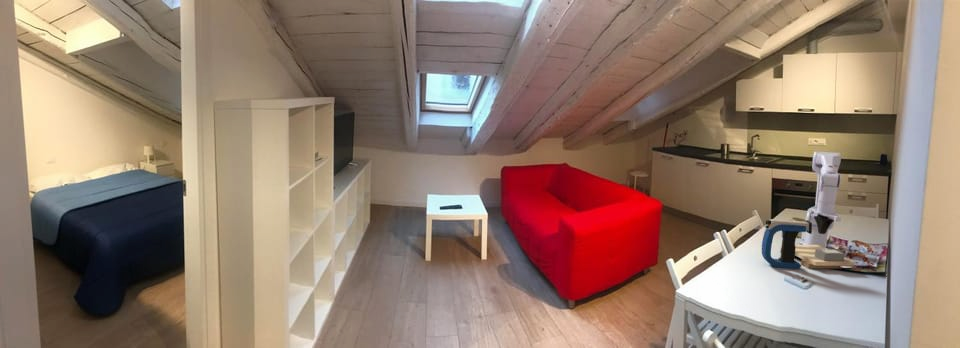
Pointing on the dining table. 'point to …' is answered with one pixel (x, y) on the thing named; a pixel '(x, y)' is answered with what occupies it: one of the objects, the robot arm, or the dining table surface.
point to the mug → (798, 220)
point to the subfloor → (813, 262)
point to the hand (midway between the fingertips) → (821, 233)
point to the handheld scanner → (784, 241)
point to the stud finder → (829, 255)
